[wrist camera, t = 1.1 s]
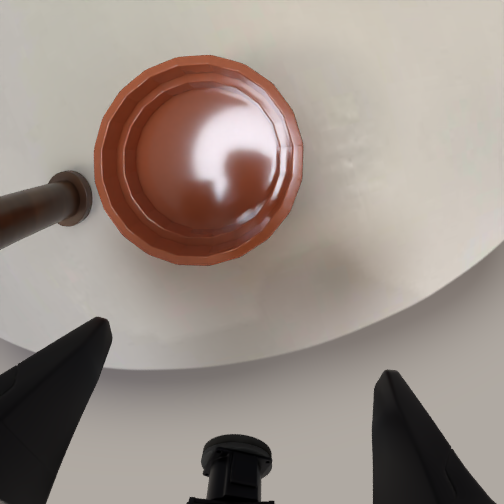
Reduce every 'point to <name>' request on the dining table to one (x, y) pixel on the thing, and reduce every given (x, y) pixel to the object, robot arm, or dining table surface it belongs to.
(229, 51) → the dining table surface
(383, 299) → the dining table surface
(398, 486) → the robot arm
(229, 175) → the bowl
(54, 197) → the brown cylinder
